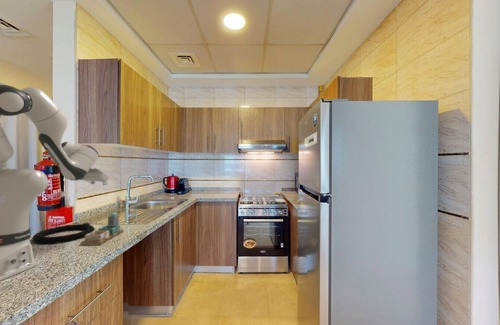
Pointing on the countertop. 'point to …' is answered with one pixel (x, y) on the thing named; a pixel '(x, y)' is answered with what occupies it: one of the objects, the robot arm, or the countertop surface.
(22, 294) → the countertop surface
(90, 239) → the brown divided tray
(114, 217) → the knob
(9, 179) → the robot arm
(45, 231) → the cable lock
